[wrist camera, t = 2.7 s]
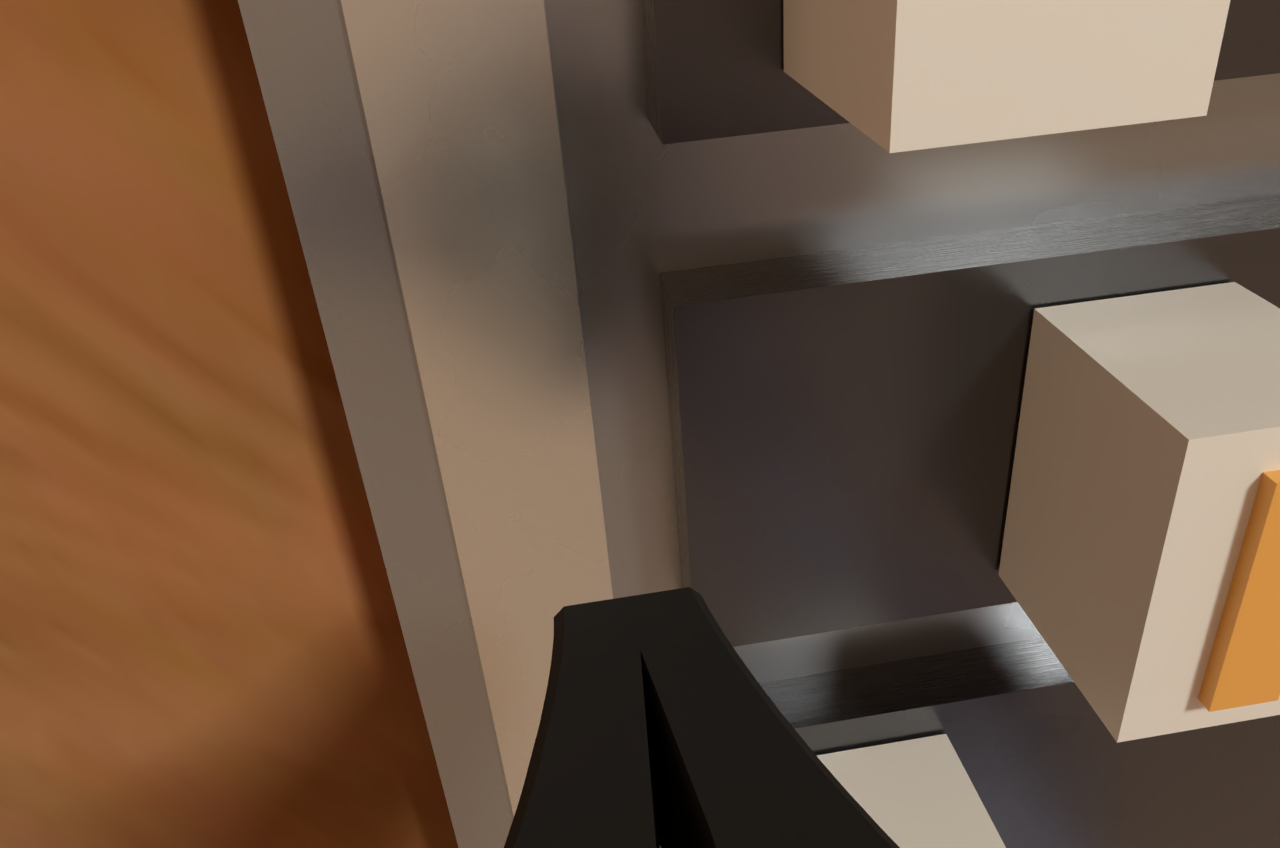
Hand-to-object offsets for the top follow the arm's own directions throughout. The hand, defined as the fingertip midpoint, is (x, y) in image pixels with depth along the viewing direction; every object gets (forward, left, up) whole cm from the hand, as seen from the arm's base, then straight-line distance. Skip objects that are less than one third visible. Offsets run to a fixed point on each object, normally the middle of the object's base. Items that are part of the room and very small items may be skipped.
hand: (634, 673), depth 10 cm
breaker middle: (0, -7, -3) cm, 7 cm away
